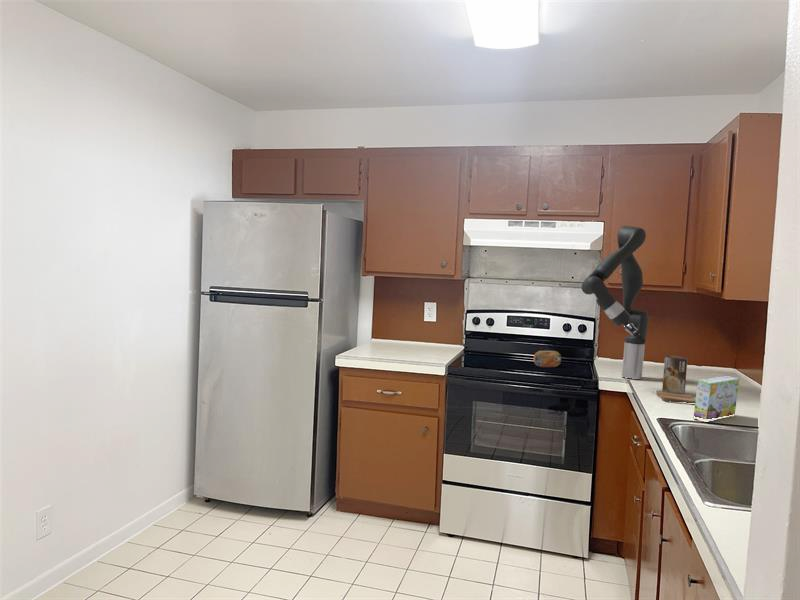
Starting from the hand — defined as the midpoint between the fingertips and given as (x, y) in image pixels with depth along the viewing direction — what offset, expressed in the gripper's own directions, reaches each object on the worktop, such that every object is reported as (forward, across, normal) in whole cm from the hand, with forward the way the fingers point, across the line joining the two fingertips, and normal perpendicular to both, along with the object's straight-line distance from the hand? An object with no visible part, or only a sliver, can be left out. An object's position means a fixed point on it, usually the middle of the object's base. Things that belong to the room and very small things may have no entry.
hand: (641, 341), depth 263 cm
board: (+25, -12, +6) cm, 28 cm away
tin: (-12, +37, +43) cm, 58 cm away
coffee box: (+26, 0, +5) cm, 27 cm away
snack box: (+30, -38, +1) cm, 49 cm away
